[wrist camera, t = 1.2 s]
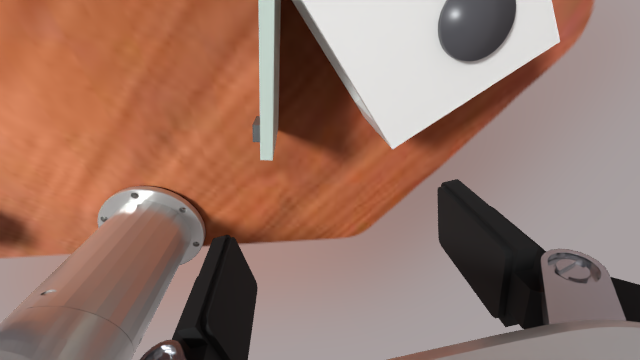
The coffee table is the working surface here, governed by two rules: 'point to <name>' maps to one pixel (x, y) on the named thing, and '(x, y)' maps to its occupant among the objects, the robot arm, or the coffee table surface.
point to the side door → (268, 77)
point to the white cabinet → (425, 52)
